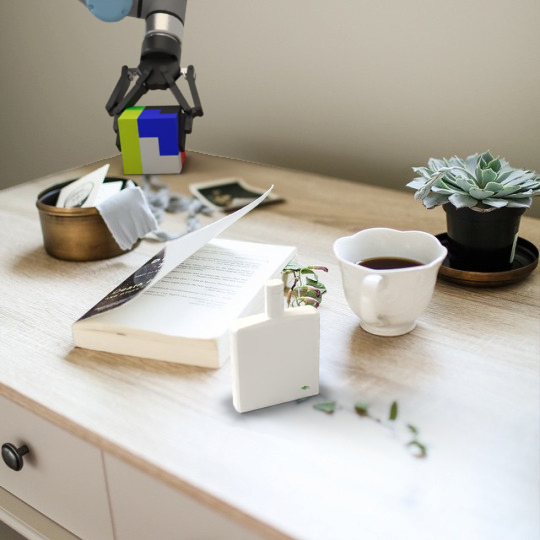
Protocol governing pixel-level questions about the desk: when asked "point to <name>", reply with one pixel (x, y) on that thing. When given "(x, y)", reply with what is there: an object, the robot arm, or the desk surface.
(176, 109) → the puzzle toy
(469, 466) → the desk surface
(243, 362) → the perfume bottle
